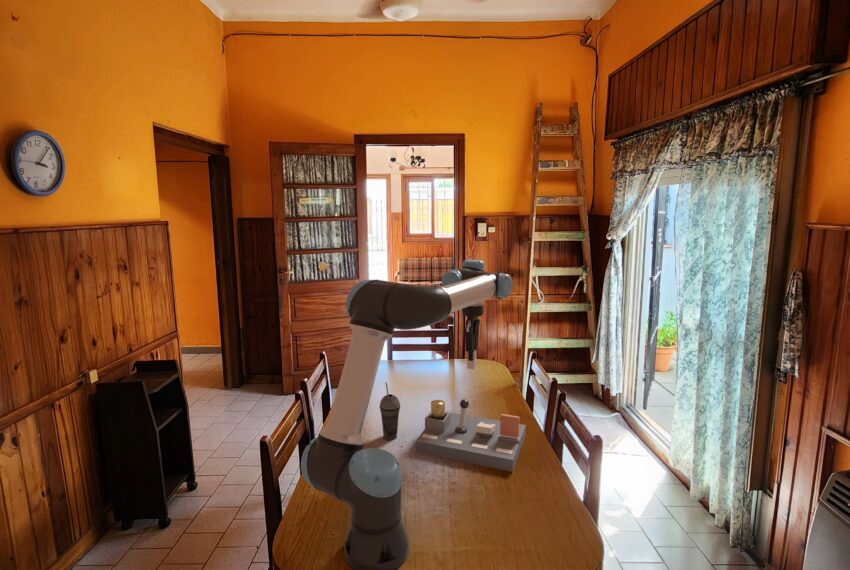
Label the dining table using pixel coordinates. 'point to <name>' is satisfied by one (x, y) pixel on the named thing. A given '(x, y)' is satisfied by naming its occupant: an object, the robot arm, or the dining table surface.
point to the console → (469, 442)
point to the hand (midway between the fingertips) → (471, 367)
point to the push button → (438, 409)
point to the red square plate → (509, 425)
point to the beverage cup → (389, 415)
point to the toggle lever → (463, 411)
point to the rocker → (485, 428)
